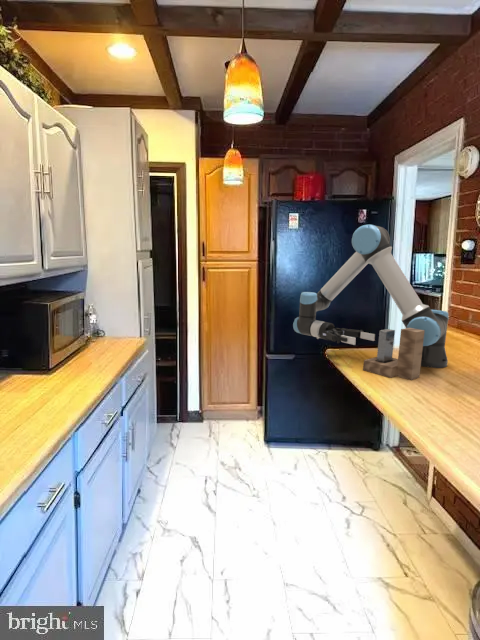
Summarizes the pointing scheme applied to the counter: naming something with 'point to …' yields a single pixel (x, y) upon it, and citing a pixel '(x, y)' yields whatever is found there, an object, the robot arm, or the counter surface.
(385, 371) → the wooden post with frame
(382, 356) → the grey metal block
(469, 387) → the counter surface
